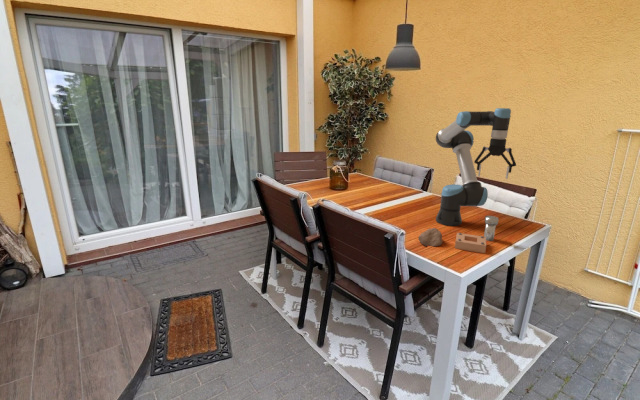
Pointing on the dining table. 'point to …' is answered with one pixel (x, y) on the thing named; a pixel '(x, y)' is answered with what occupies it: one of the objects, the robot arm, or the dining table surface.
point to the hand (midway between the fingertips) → (492, 177)
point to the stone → (431, 237)
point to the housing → (470, 242)
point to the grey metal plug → (490, 227)
